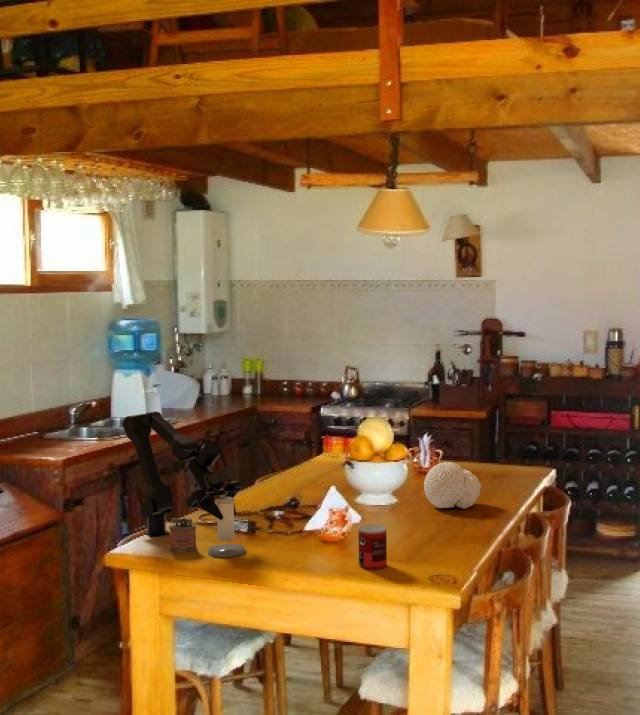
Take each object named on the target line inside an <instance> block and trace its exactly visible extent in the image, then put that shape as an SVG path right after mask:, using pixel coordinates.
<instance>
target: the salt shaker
mask: <svg viewBox="0 0 640 715" xmlns="http://www.w3.org/2000/svg"><path fill="white" fill-rule="evenodd" d="M233 498H234V497H233ZM233 498H232V497H221V496H218V498H217V501H216V505H217V507H218V509H219V510H220V512H221V514H222V516H223V519H222V520H220V519H218V518H217V517H216V520H217V521H216V523H217V539H218V540H219V541H230V540H231V541H232V540H234V539H235V538H236V537H235V516H234V505H235V501H233Z"/></svg>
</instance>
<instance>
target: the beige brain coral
mask: <svg viewBox="0 0 640 715" xmlns="http://www.w3.org/2000/svg"><path fill="white" fill-rule="evenodd" d="M423 482H424V483H423V486H424V487H423V489H424V490H423V491H424V494H425V496H426V500H427V499H428V502H430V503H431V504H432V505H433V506H435V508H438V509H448V508H454V507H457V508H461V509H467V508H470V507H472V506H474V504H476V501H477V500H478V498H479V497H480V493H481V487H482V484H481V482H480V481H479V479H478V477H477V476H476V475H475V474H473V473H472V471H471V470H470V471H469V470H468V469H465V468H463V467H461V465H459V464H457V463H454V462H450V461H448V462H447V461H444V462H440V463H437V464H436V465H434V466H433V467H431V469H430V470H428V471H427V474H426V476H425V477H424V481H423Z"/></svg>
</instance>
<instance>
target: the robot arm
mask: <svg viewBox="0 0 640 715" xmlns="http://www.w3.org/2000/svg"><path fill="white" fill-rule="evenodd" d="M122 427H123V430H124V433H125V435H126V438H127V439H129V440H130V441H131V442H132V443H133V445H134V447H135V450H136V451H135V452H136V455H137V458H138V461H139V465H140V468H141V469H140V470H141V471H142V476H143V478H144V479H143V480H144V482H145V485H146V489H145V493H144V501H145V502H144V503H143V505H142V506H141V508H140V509H139V512H140V516H141V517H144V518H147V519H146V523H147V524H146V525H147V529H146V530H143V533H144V534H145V535H147V536H148V537H151V538H153V537H157V536H158V537H159V536H164V535H170V530H167V528H166V526H167V525H166V515H167V514H170V513H172V510H173V509H172V508H173V504H174V494H173V493H172V487H171V486H170V484H167V485H166V484H165V483H164V482H163V481H162V478H161V475H160V474H161V473H160V471H159V467H158V463H157V461H156V457H155V454H154V451H153V448H152V447H153V446H152V444H151V440H150V437H151V434H152V430H153V432H155V433H156V434H157V435H158V436H159V437H160V438H161V439H163V441H164V442H165V443H167V444H168V445H169V446H170V452H171V454H173V456H174V457H175V459H176V460H177V461H178V462H184V461H185V462H186V461H189V462H188V463H185V464H184V467H183V473H184V474H187V473H189V474H190V475H191V477H192V479H193V480H194V482H195V484H194V487H195V489H197V488H198V489H197V490H193V491H192V492H191V494H190V495H188V498H186V502H185V503H186V506H187V508H188V509H189V510H192V509H195V508H198V509H199V510H203V512H204V511H205V512H206V513H207V514H209V515H212V516H213V517H215V518H216V519H217V518H218V519H220V520H222V519H223V516H222V514H221V512H220V510H219V509H218V507H217V502H216V501H215V498H216V497H232V498H233V501H234V500H235V499H234V497H236V496H237V494H238V493H239V492H240V491H241V490H242V488H243V484H242V483H241V481H239V480H234V481H230V480H232V477H234V472H233V470H232V469H231V467H230V466H226V467H224V468H222V469H221V470H219V471H212V470H211V468H210V467H212V466H213V465H214V464H215V462H216V461H217V460H218V458H219V457H220V455H221V454H222V453H223V448H222V446H221V445H220V444H218V442H216V441H214V440H211V438H210V437H208V438H204V439H203V440H202V441H201V443H199V442H198V441H197V440H195V439H194V438H192V437H190V436H187V435H184V434H182V433H180V431H179V430H177V429H176V428H175V427H174V426H173V425H172V424H171V423H169V422H168V420H166V419H165V418H164V417H163V416H162V414H161V413H160V411H147V412H146V413H141V414H140V413H139V414H133V415H128V416H126V417H125V418H124V419H123V422H122ZM227 481H229V482H227ZM225 482H227V483H225ZM225 484H226V485H225ZM224 485H225V486H224ZM222 487H224V488H222ZM234 502H235V501H234ZM198 504H199V505H198ZM236 510H237V509H236V505H235V504H234V517H235V516H237V512H236Z"/></svg>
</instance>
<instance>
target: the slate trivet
mask: <svg viewBox="0 0 640 715" xmlns="http://www.w3.org/2000/svg"><path fill="white" fill-rule="evenodd" d="M207 552H208V553H207V554H208V555H209V556H210V557H214V558H221V559H226V558H236V557H240V556H242V555H244V554H245V553H246V547H245V546H244V545H242V544H237V543H220V544H214V545H212V546H210V547H208V550H207Z"/></svg>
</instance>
